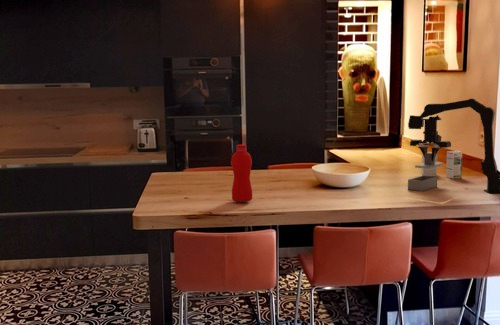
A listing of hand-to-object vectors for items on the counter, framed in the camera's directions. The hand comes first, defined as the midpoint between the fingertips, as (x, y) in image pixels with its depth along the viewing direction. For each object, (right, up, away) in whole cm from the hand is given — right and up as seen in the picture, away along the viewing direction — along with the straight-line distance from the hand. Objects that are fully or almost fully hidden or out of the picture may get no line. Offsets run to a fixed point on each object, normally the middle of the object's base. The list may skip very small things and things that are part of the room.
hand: (429, 160), depth 255 cm
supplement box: (+12, -8, +35) cm, 38 cm away
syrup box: (+22, -9, +25) cm, 34 cm away
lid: (0, -3, 0) cm, 3 cm away
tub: (-4, -13, -3) cm, 14 cm away
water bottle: (-92, -18, -22) cm, 97 cm away
